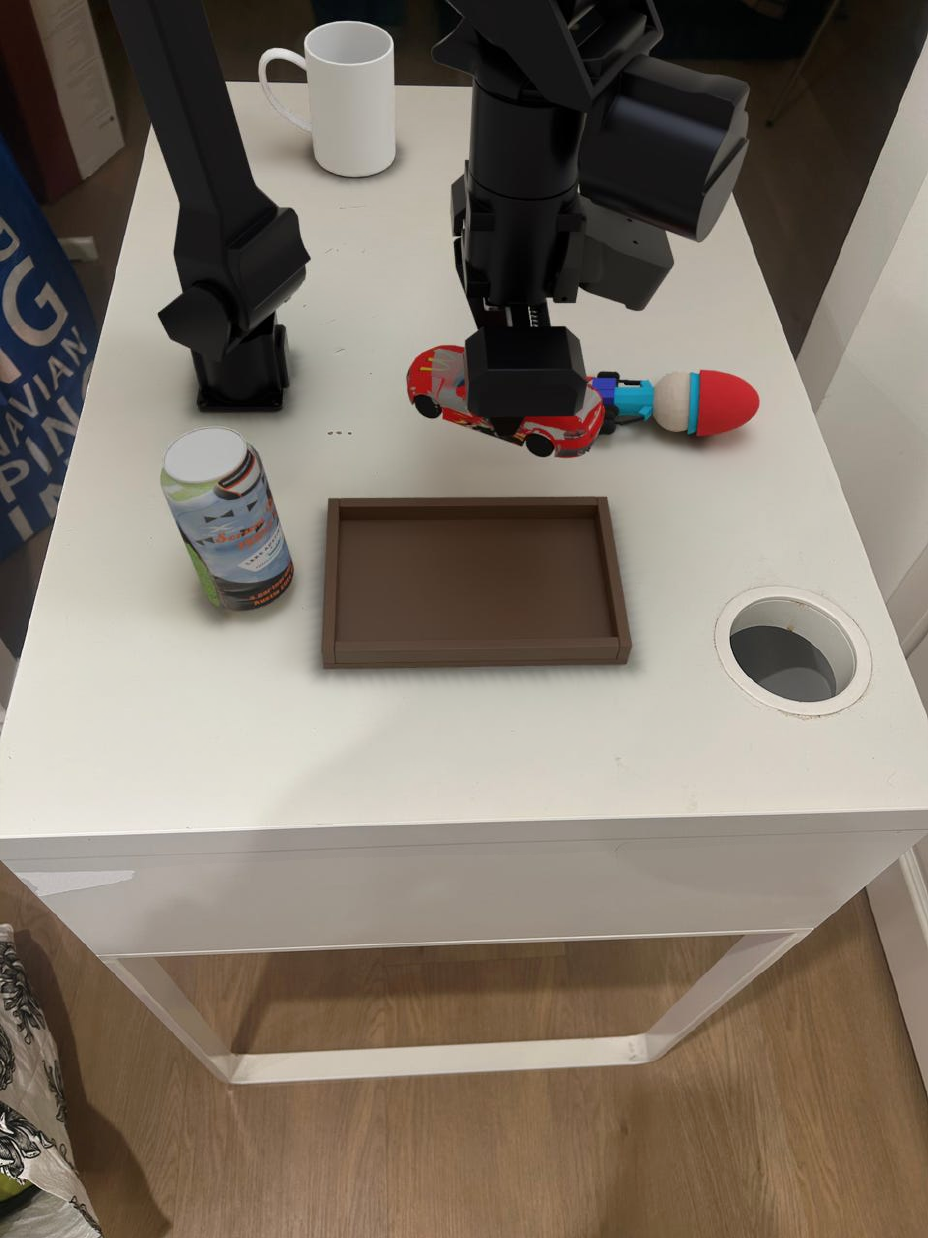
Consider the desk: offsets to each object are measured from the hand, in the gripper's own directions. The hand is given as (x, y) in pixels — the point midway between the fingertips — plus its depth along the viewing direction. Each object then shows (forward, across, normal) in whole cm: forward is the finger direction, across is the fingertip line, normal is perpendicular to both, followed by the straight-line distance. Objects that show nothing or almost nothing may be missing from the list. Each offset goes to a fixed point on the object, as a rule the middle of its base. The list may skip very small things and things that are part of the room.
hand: (501, 396), depth 63 cm
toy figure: (+10, +8, -13) cm, 19 cm away
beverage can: (+10, -7, +17) cm, 21 cm away
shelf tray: (+10, -8, +2) cm, 13 cm away
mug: (+10, +44, +12) cm, 47 cm away
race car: (+2, 0, 0) cm, 2 cm away
